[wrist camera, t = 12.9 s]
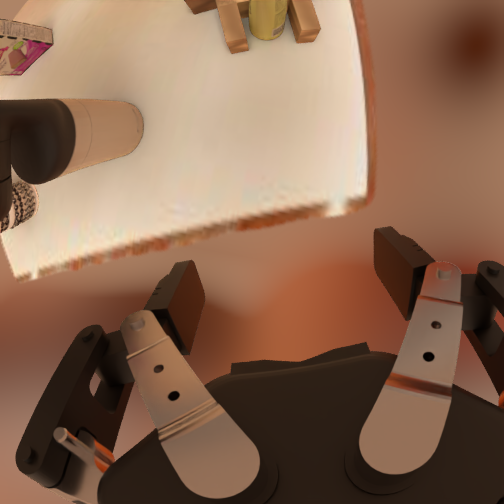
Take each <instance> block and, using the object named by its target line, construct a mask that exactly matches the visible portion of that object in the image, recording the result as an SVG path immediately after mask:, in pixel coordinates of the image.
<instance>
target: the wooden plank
mask: <svg viewBox="0 0 504 504" xmlns="http://www.w3.org/2000/svg"><path fill="white" fill-rule="evenodd" d="M184 1H185V2H186V3H187V5H188V6H189V8H190V9H191V10H192V12H193V13H194V14H198V13H201V12H205V11H208V10H212V9H216V8H217V4H216V0H184Z"/></svg>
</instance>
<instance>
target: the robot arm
mask: <svg viewBox="0 0 504 504" xmlns="http://www.w3.org/2000/svg"><path fill="white" fill-rule="evenodd" d="M142 134H143V119H142V116H141V114H140V112H139V110H138V109H137V108H136V107H135V106H133V105H132V104H130V103H126V102H119V101H108V100H92V99H30V100H0V222H1V221H2V220H3V219H4V218H5V217H6V216H7V214H8V213H9V211H10V209H11V206H12V178H11V164H12V167H13V169H14V170H15V172H16V174H17V175H18V176H19V177H20V178H21V179H22V180H23V181H25V182H27V183H29V184H42V183H46V182H48V181H51V180H53V179H55V178H58V177H61V176H63V175H66V174H69V173H71V172H74V171H77V170H80V169H83V168H86V167H89V166H92V165H95V164H98V163H101V162H104V161H108V160H111V159H115V158H118V157H122V156H125V155H127V154H129V153H130V152H132V151H133V150H134V149H135V148H136V147H137V145H138V144H139V142H140V140H141V138H142ZM374 268H375V271H376V274H377V276H378V277H379V279H380V280H381V282H382V283H383V285H384V286H385V288H386V289H387V291H388V293H389V294H390V296H391V297H392V299H393V301H394V302H395V304H396V305H397V307H398V309H399V310H400V312H401V314H402V315H403V317H404V318H405V320H406V321H408V320H410V323H409V327H408V330H407V332H406V336H405V338H404V341H403V344H402V346H401V349H400V352H399V354H398V356H397V355H395V354H391V353H386V352H377V351H370V350H369V348H368V345H367V343H366V342H365V343H360V344H355V345H351V346H346V347H341V348H337V349H333V350H331V351H328V352H326V353H323V354H320V355H318V356H315V357H313V358H310V359H307V360H304V361H301V362H289V361H273V360H259V361H250V362H240V363H232V365H231V373H229V374H226V375H223V376H221V377H219V378H216V379H214V380H212V381H211V382H209V383H207V384H206V385H203V384H202V383H201V382H200V380H199V379H198V378H197V376H196V375H195V373H194V372H193V371H192V369H191V368H190V367H189V365H188V364H187V362H186V361H185V359H184V358H183V357H182V355H190V352H191V349H192V345H193V342H194V338H195V335H196V331H197V328H198V324H199V320H200V317H201V314H202V310H203V307H204V303H205V293H204V289H203V286H202V283H201V280H200V278H199V275H198V272H197V269H196V266H195V263H194V262H193V261H192V260H189V261H183V262H177V263H175V265H174V266H173V268H172V270H171V272H170V274H169V275H166V276H165V277H164V278H163V279H162V280H160V281H159V283H158V285H157V287H156V288H155V289H156V290H154V292H153V294H152V296H151V297H150V299H149V300H148V302H147V304H146V306H145V307H144V309H143V310H142V311H138V312H135V313H133V314H131V315H129V316H128V317H127V318H126V319H125V320H124V321H123V322H122V324H121V326H120V330H118V331H115V332H112V333H108V334H106V333H105V332H104V330H103V328H102V327H101V326H100V325H91V326H88V327H86V328H85V329H83V330H82V331H81V332H79V334H78V335H77V336H76V337H75V339H74V341H73V342H72V344H71V345H70V347H69V349H68V350H67V352H66V354H65V356H64V357H63V359H62V360H61V362H60V364H59V366H58V367H57V369H56V371H55V372H54V374H53V376H52V378H51V380H50V382H49V383H48V385H47V387H46V389H45V391H44V393H43V395H42V397H41V399H40V400H39V402H38V404H37V406H36V408H35V410H34V413H33V415H32V417H31V419H30V421H29V423H28V426H27V428H26V430H25V432H24V434H23V437H22V439H21V441H20V444H19V446H18V449H17V452H16V464H17V467H18V469H19V470H20V471H21V472H22V473H24V474H25V475H27V476H28V477H30V478H31V479H33V480H34V481H36V482H37V483H39V484H40V485H41V486H42V487H44V488H46V489H47V490H49V491H51V492H53V493H55V494H56V495H58V496H60V497H62V498H64V499H66V500H69V501H72V502H74V503H76V504H504V332H503V331H502V330H501V328H500V327H499V325H498V324H497V323H496V321H495V320H494V318H495V315H496V312H497V310H499V312H500V313H501V314H502V316H503V317H504V266H503V265H501V264H499V263H497V262H494V261H483V262H480V263H479V265H478V268H477V273H476V274H461V271H460V269H459V268H458V267H457V266H455V265H453V264H451V263H448V262H443V261H438V262H436V261H435V260H434V259H433V258H432V257H431V256H430V255H429V254H428V253H427V252H425V251H424V250H423V249H422V248H421V247H420V246H418V244H417V243H416V242H415V241H414V240H413V239H411V238H409V237H406V236H404V235H400V234H399V233H398V232H397V231H396V230H395V229H393V228H392V227H391V226H389V227H383V228H377V229H375V230H374ZM461 330H463V331H464V333H465V334H466V336H467V338H468V339H469V341H470V343H471V344H472V346H473V347H474V349H475V351H476V353H477V355H478V356H479V358H480V360H481V361H482V364H483V365H484V367H485V369H486V371H487V373H488V375H489V376H490V378H491V381H492V383H493V385H494V387H495V389H496V391H497V393H498V395H499V400H498V406H496V405H494V404H492V403H490V402H488V401H486V400H484V399H482V398H480V397H478V396H476V395H474V394H472V393H470V392H468V391H466V390H464V389H462V388H460V387H458V386H457V385H455V384H453V378H454V373H455V368H456V363H457V357H458V350H459V343H460V335H461ZM94 372H96V374H97V375H98V376H99V378H100V379H101V382H100V384H99V386H98V388H97V391H96V393H95V396H94V397H93V396H92V394H91V392H90V388H89V385H90V380H91V379H92V377H93V374H94ZM134 382H136V384H137V387H138V389H139V391H140V394H141V396H142V398H143V401H144V403H145V405H146V407H147V410H148V412H149V414H150V416H151V418H152V420H153V422H154V424H155V426H156V428H155V429H154V430H153V431H152V432H151V433H150V434H149V435H147V436H146V437H145V438H144V439H143V440H141V441H140V442H139V443H138V444H136V445H135V446H134V447H133V448H132V449H130V450H129V451H128V452H127V453H125V454H124V455H123V456H121V457H120V458H119V459H118V460H116V461H115V459H114V455H113V450H114V446H115V442H116V439H117V436H118V432H119V429H120V426H121V422H122V419H123V416H124V412H125V409H126V406H127V403H128V400H129V397H130V394H131V390H132V387H133V385H134Z"/></svg>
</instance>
